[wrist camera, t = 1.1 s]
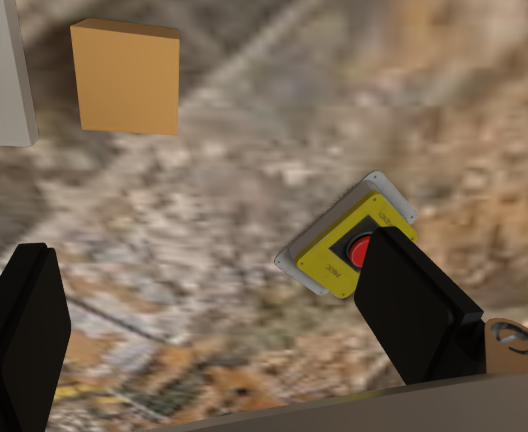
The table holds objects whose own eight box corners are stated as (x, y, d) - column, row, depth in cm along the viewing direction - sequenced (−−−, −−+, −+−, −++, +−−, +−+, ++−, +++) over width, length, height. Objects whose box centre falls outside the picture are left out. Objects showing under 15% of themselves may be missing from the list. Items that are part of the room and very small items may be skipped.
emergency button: (440, 235, 39) (332, 320, 42) (417, 213, 42) (319, 294, 46) (396, 183, 34) (278, 284, 38) (374, 164, 38) (269, 258, 41)
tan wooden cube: (89, 17, 26) (70, 26, 21) (177, 29, 27) (179, 39, 22) (97, 104, 29) (81, 129, 24) (176, 110, 30) (177, 135, 25)
